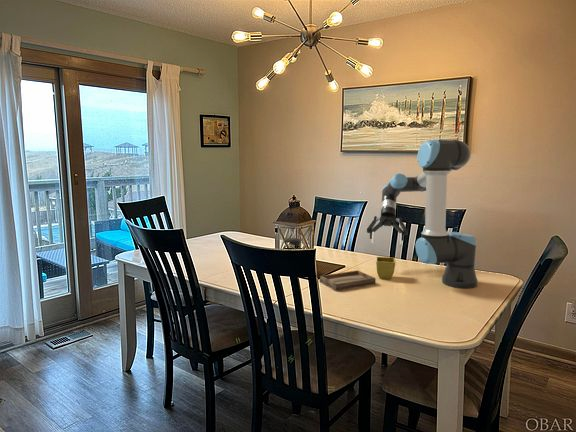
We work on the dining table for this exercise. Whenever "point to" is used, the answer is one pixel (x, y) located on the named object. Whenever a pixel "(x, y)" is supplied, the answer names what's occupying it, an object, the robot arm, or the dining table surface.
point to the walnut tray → (347, 280)
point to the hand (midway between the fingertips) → (386, 244)
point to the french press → (293, 241)
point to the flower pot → (385, 267)
